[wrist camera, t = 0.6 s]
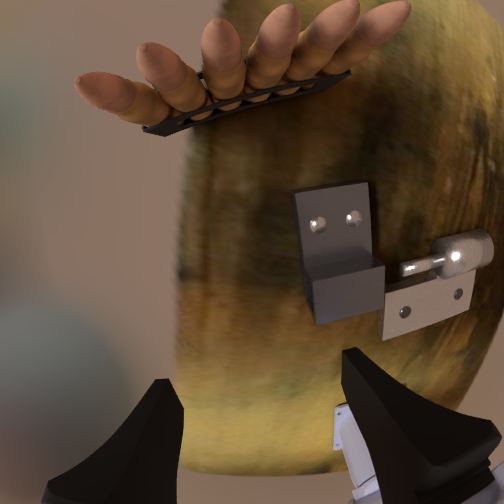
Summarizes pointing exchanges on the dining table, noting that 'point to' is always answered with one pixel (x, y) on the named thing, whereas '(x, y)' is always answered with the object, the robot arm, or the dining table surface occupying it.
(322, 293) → the loose leaf
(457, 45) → the dining table surface
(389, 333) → the fixed leaf
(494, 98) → the dining table surface
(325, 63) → the ammunition clip
